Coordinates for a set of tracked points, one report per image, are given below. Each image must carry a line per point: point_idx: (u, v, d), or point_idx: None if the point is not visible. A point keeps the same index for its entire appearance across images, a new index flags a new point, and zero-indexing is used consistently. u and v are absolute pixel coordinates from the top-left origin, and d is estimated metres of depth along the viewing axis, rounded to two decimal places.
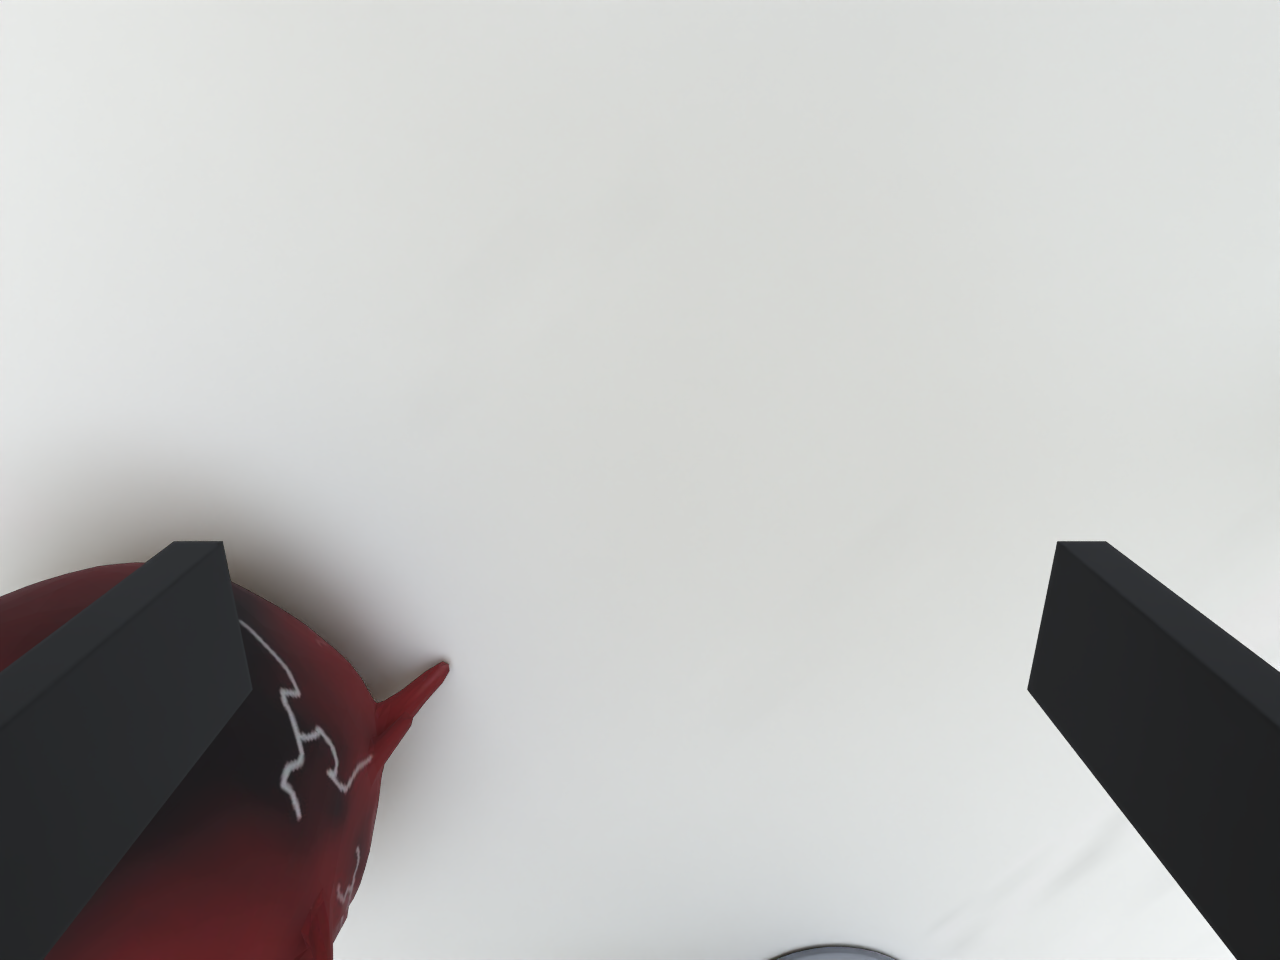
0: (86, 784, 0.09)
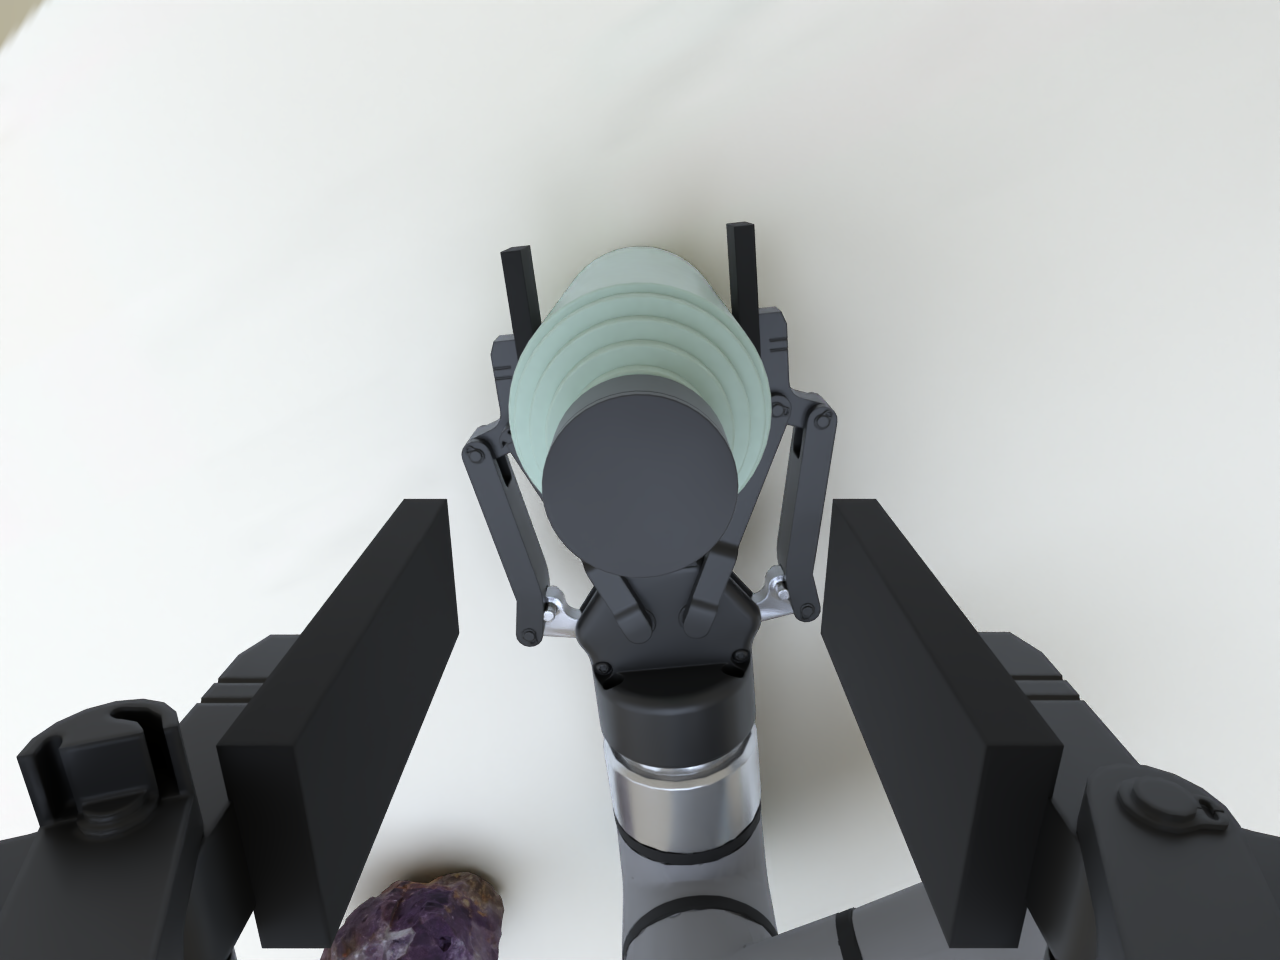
0: (393, 693, 0.11)
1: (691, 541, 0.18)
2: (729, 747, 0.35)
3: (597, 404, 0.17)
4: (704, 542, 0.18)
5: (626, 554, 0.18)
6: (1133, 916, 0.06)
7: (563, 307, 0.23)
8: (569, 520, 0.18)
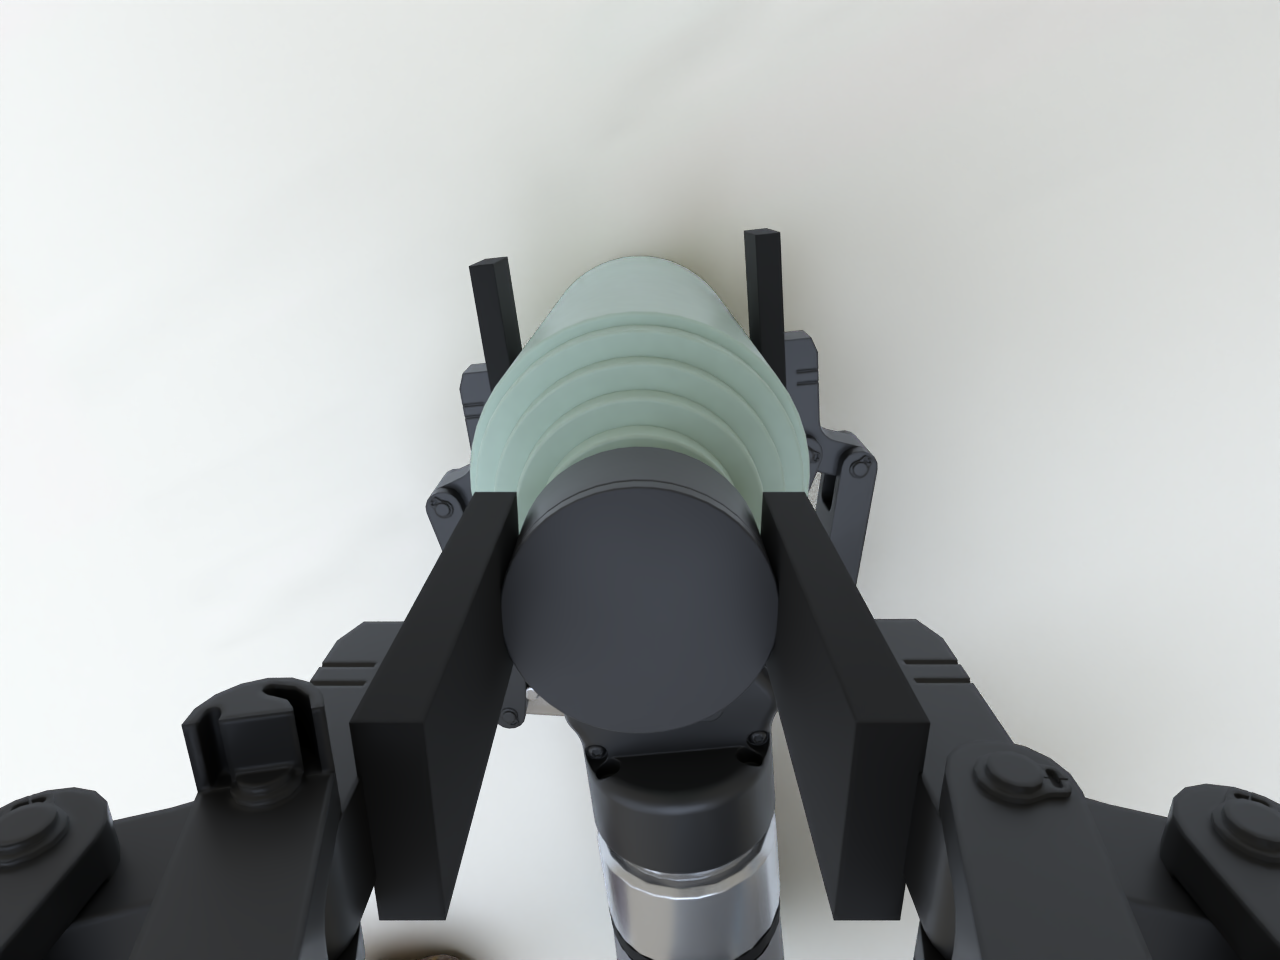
0: (483, 678, 0.11)
1: (712, 686, 0.13)
2: (745, 848, 0.30)
3: (578, 501, 0.12)
4: (730, 687, 0.13)
5: (620, 703, 0.13)
6: (984, 889, 0.06)
7: (539, 344, 0.17)
8: (539, 658, 0.13)
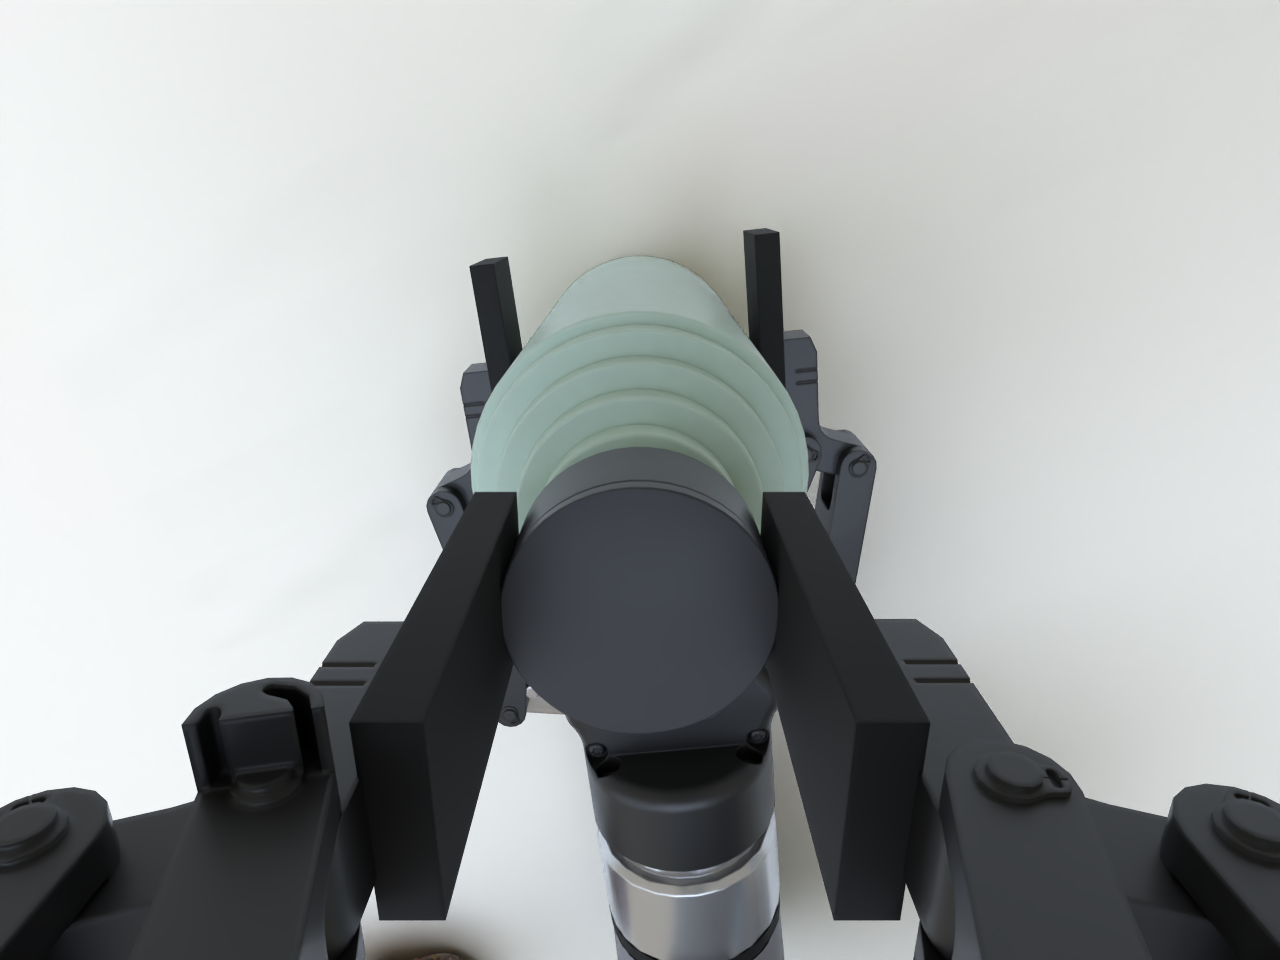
0: (483, 678, 0.11)
1: (710, 539, 0.12)
2: (745, 846, 0.30)
3: (527, 683, 0.13)
4: (710, 520, 0.12)
5: (742, 623, 0.13)
6: (984, 889, 0.06)
7: (539, 343, 0.17)
8: (698, 697, 0.13)
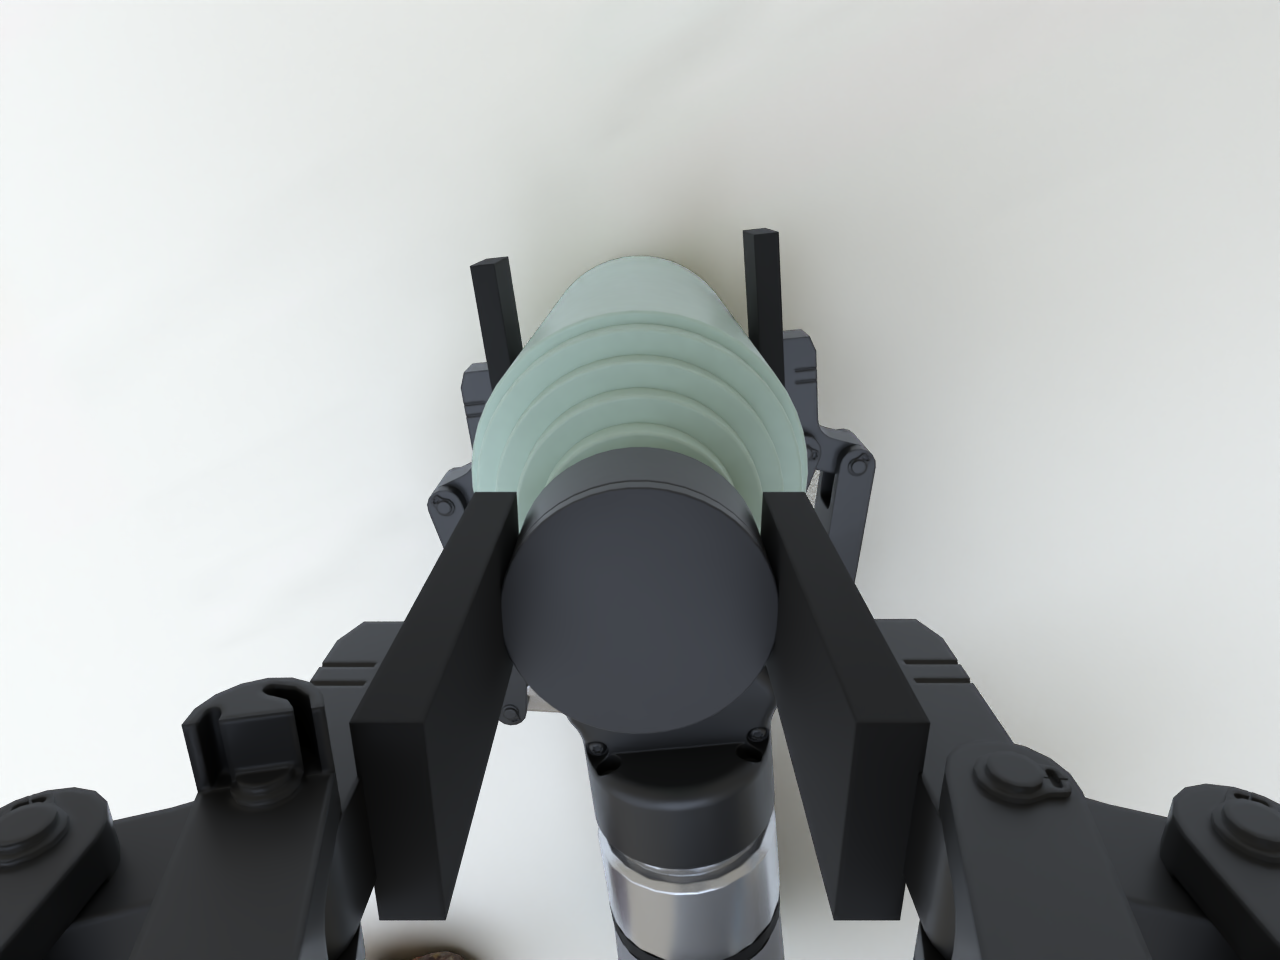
0: (483, 678, 0.11)
1: (542, 568, 0.12)
2: (745, 843, 0.30)
3: None
4: (523, 571, 0.12)
5: (629, 525, 0.12)
6: (984, 889, 0.06)
7: (540, 342, 0.17)
8: (726, 551, 0.12)
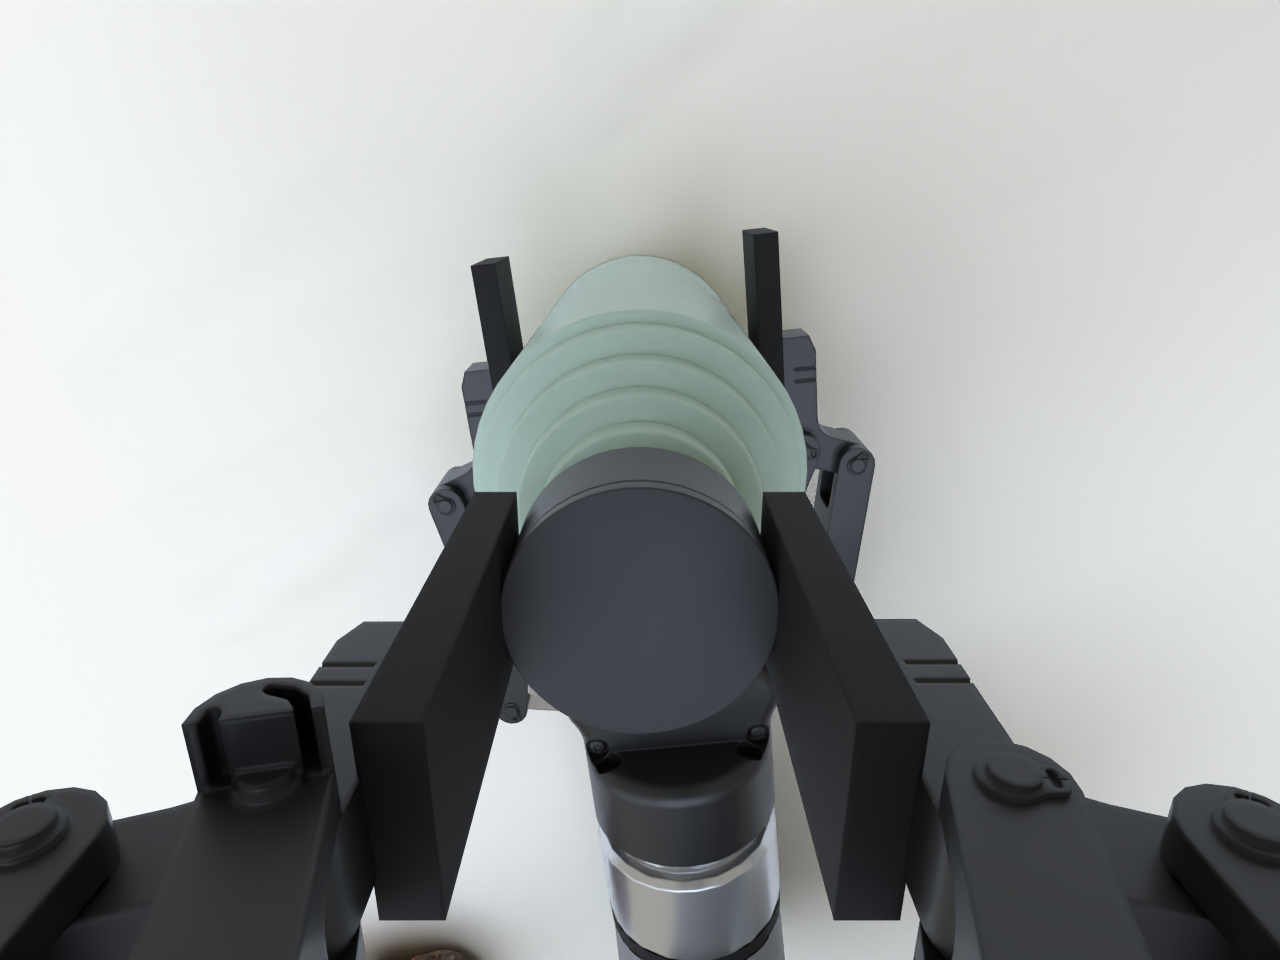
0: (483, 677, 0.11)
1: (600, 703, 0.13)
2: (745, 841, 0.30)
3: (733, 521, 0.12)
4: (606, 717, 0.13)
5: (541, 640, 0.13)
6: (984, 889, 0.06)
7: (540, 341, 0.18)
8: (551, 552, 0.12)
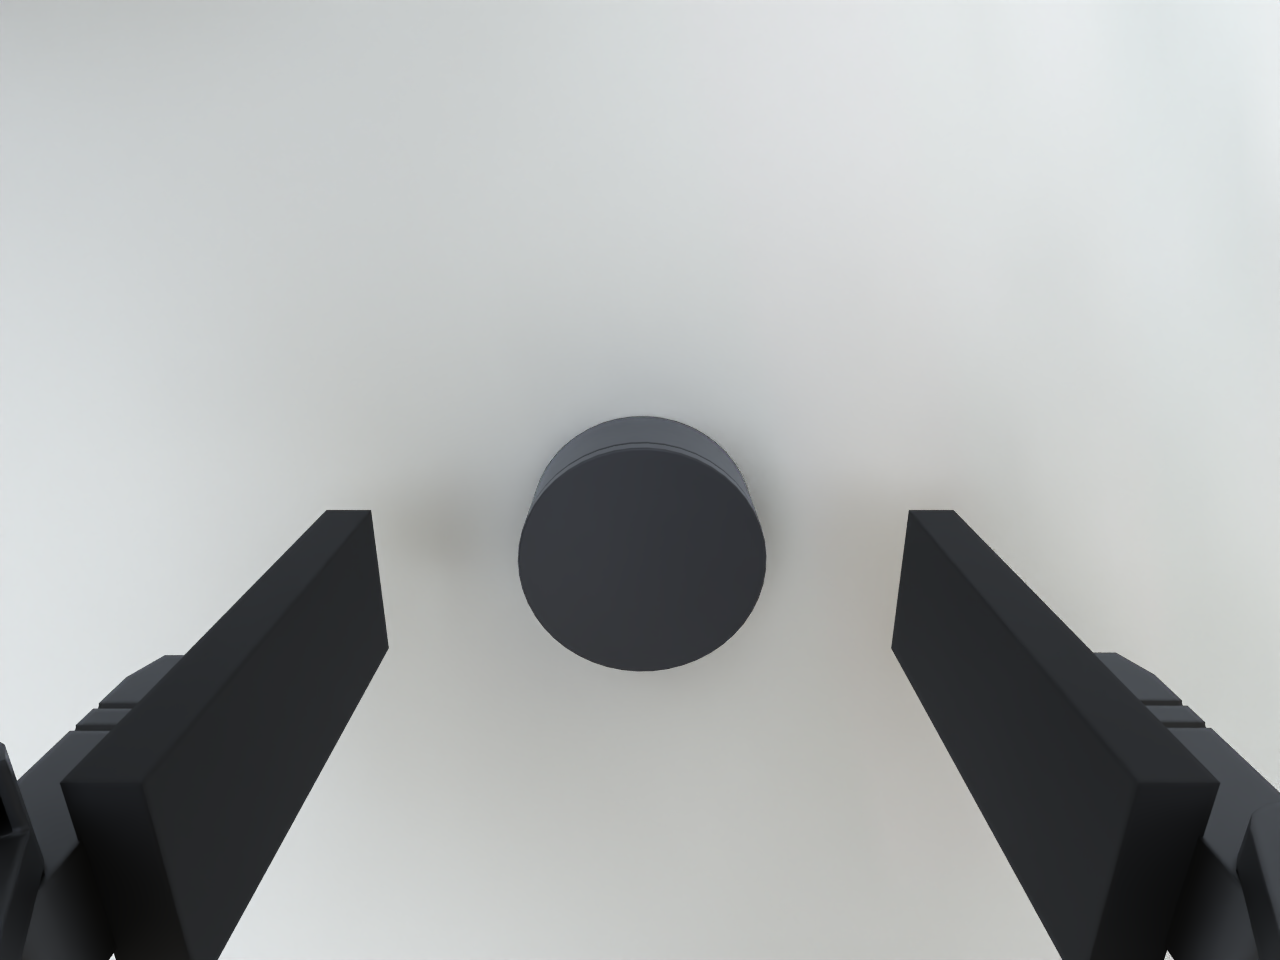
0: (294, 716, 0.10)
1: (607, 644, 0.15)
2: None
3: (724, 477, 0.14)
4: (612, 656, 0.15)
5: (554, 585, 0.14)
6: None
7: None
8: (564, 506, 0.14)
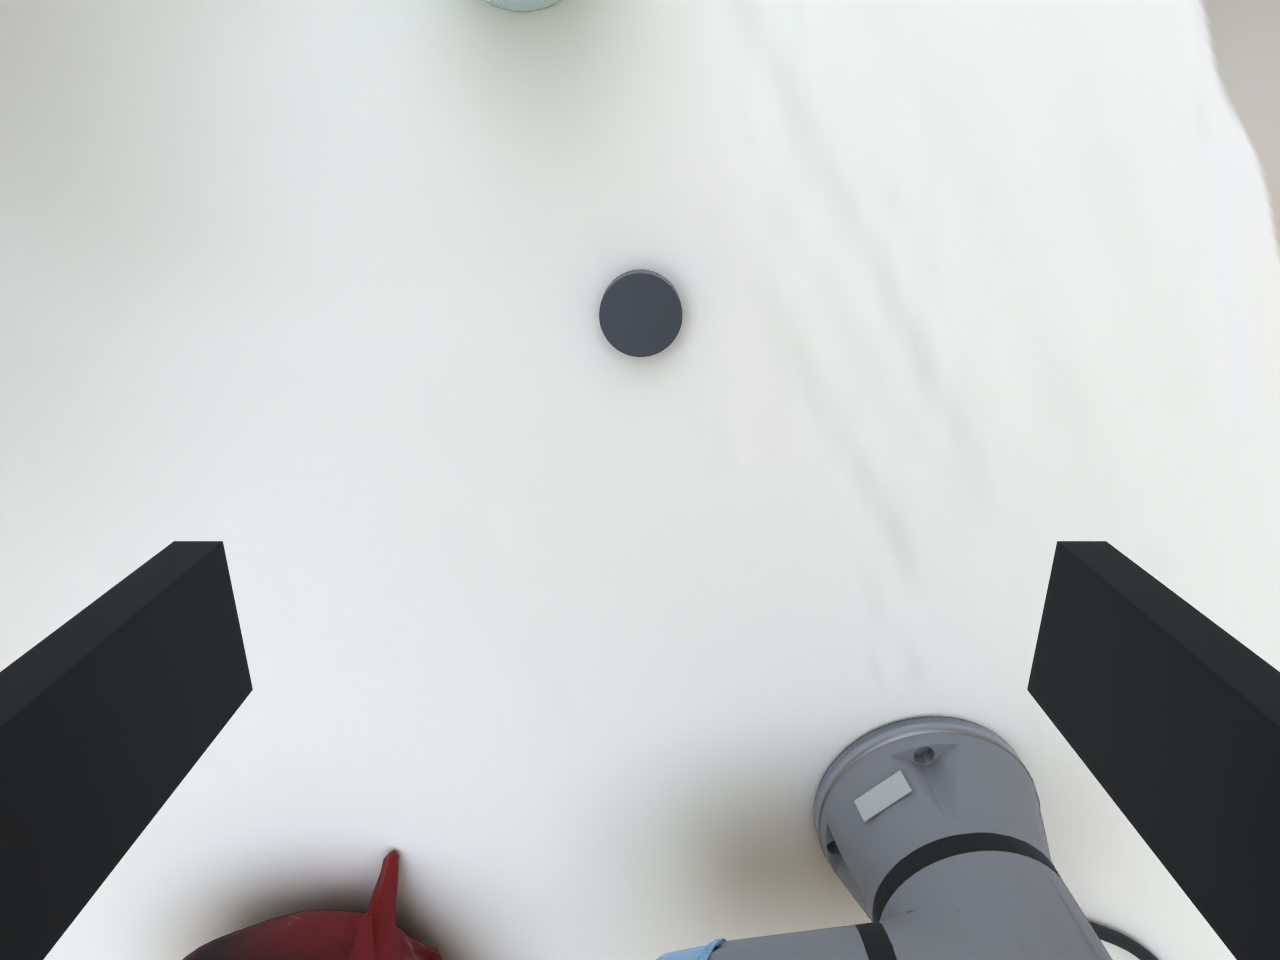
0: (86, 784, 0.09)
1: (628, 345, 0.43)
2: None
3: (667, 283, 0.42)
4: (630, 351, 0.43)
5: (611, 323, 0.43)
6: None
7: None
8: (615, 294, 0.42)
